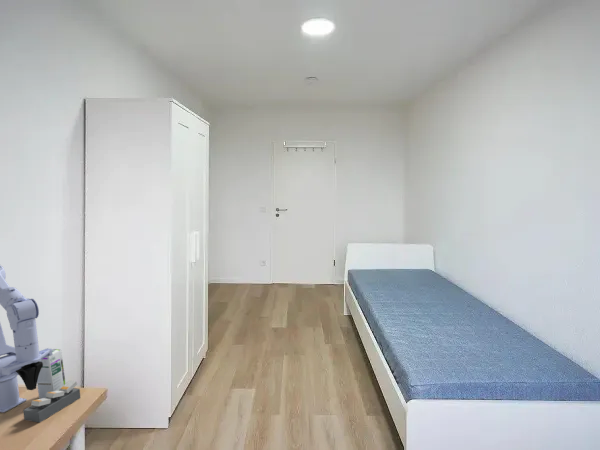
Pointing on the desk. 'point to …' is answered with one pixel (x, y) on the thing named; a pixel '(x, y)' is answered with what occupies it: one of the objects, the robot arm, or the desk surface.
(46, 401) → the rocker
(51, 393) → the block
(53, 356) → the syrup box
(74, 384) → the rocker
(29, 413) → the rocker switch panel
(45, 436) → the desk surface
